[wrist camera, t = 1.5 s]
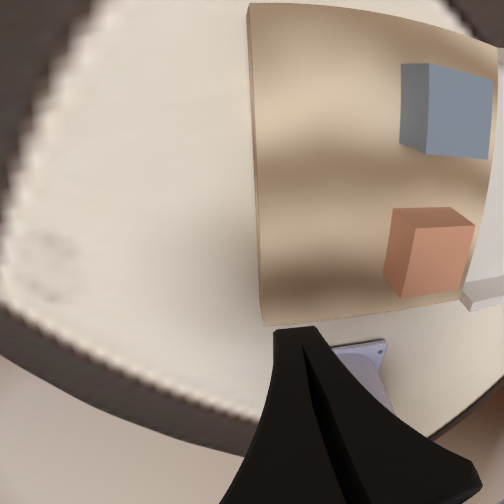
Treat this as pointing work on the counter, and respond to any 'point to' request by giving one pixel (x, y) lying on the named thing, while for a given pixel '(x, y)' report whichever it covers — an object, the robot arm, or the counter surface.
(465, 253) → the terracotta block
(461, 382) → the counter surface
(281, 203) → the oak board
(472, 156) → the slate tile
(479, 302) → the box
